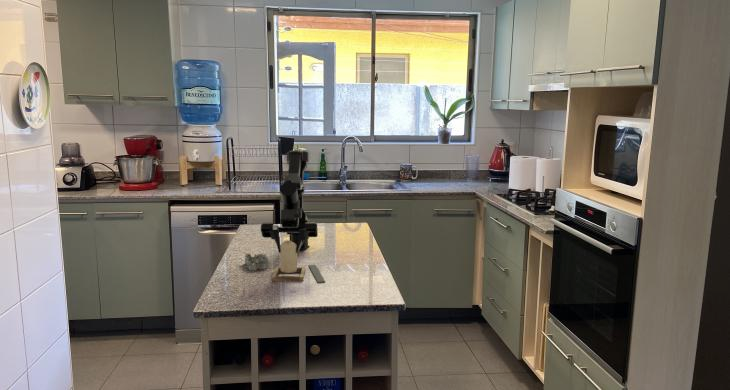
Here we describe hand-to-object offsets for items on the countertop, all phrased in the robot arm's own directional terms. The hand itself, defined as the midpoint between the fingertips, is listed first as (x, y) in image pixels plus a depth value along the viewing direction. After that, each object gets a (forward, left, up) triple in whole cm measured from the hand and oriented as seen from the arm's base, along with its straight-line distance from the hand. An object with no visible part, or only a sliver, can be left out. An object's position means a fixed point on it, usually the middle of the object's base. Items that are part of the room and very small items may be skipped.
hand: (288, 252), depth 169 cm
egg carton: (-17, +6, -9) cm, 21 cm away
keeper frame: (-1, +1, -9) cm, 9 cm away
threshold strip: (+6, +7, -9) cm, 13 cm away
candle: (-1, +1, -7) cm, 7 cm away
